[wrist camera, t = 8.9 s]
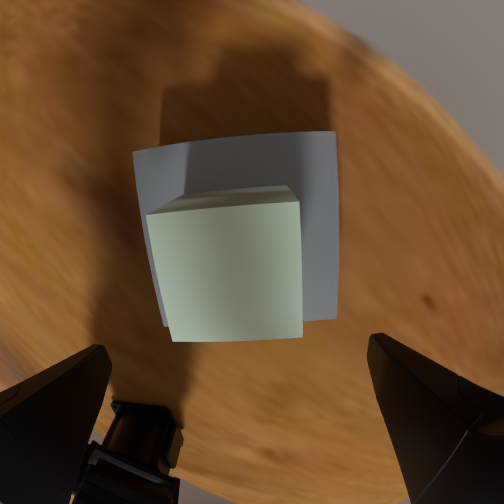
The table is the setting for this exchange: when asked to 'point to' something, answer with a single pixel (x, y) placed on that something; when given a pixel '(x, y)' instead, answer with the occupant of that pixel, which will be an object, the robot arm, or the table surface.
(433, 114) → the table surface
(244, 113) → the table surface
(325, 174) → the base block
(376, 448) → the table surface
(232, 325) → the green cube
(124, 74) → the table surface
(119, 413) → the robot arm
